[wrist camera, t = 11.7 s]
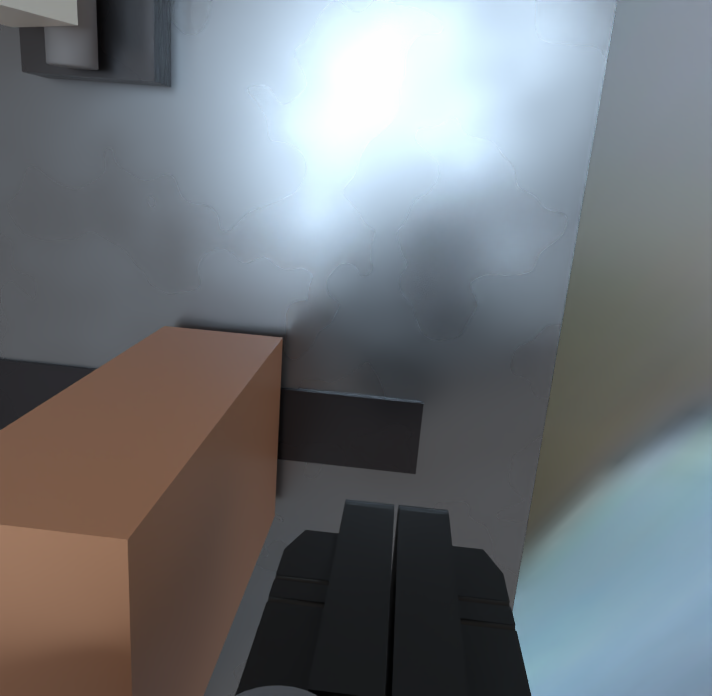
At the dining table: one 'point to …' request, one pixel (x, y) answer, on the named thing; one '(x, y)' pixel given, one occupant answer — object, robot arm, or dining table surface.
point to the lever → (59, 28)
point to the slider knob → (137, 516)
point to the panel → (315, 234)
